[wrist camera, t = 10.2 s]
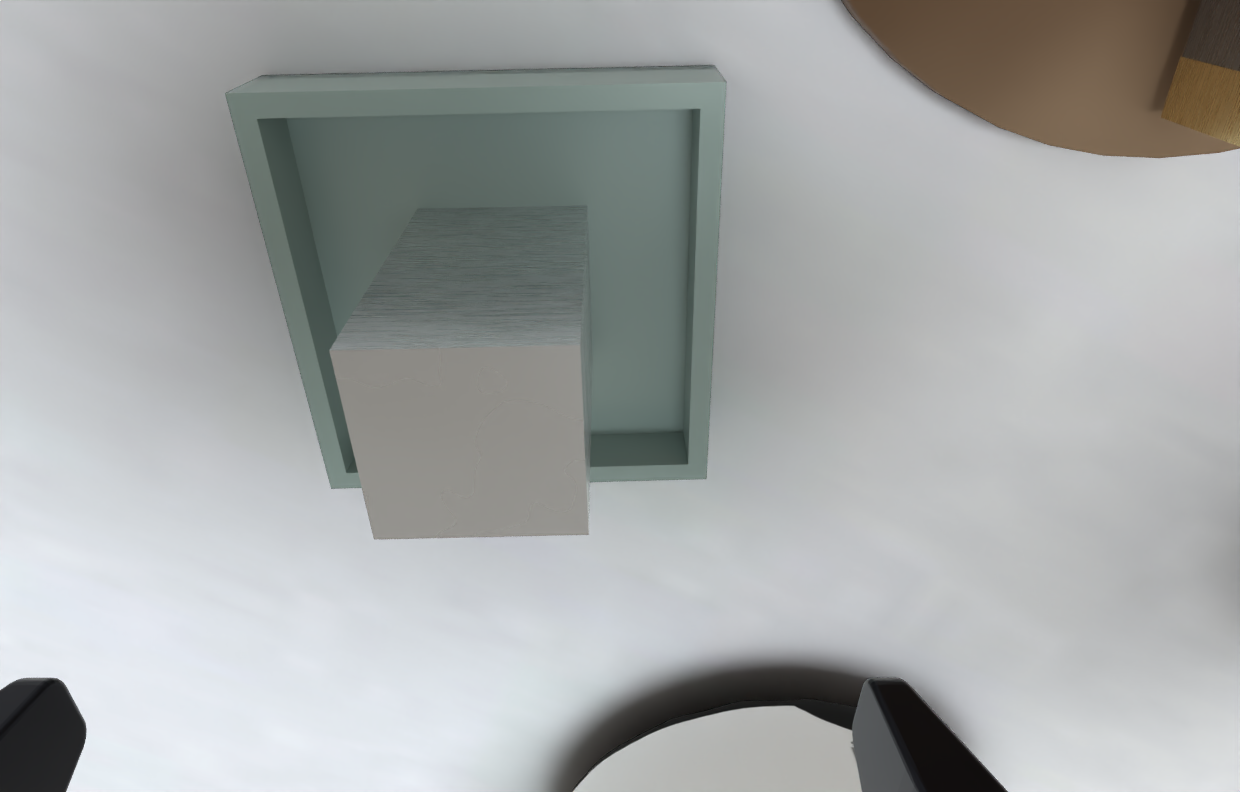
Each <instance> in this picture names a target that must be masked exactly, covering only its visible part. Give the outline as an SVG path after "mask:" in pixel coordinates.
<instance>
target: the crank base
mask: <svg viewBox="0 0 1240 792" xmlns="http://www.w3.org/2000/svg"><path fill="white" fill-rule="evenodd" d="M841 1H842V2H843V4H844V5H845V6H846V8H847V9H848V11H849V12H850V14H851V15H852V17H853V18H854V19H855V20H856V21H857V22H858V23H859V24H860V25H861V26H862V27H863V28H864V30H865V31H866V32H867V33H868V34H869V35H870V36H871V37H872V38H873V39H874V40H875V41H876V42H877V44H878V45H879V46H880V47H881V48H882V49H883V50H884V51H885V52H886V53H887V54H888V55H889V57H890V58H892V59H893V60H894V61H895V62H897V63H898V64H899V65H900V66H902V67H903V68H904V69H906V70H907V71H908V72H909V73H911V74H912V75H913V76H914V77H916V78H917V79H918V80H920V81H921V82H922V83H923V84H925V85H926V86H927V87H928V88H930V89H931V90H932V91H934V92H935V93H937V94H939V95H941V96H943V97H944V98H946V99H948V100H950V101H952V102H954V103H955V104H957V105H959V106H961V107H963V108H964V109H966V110H968V111H970V112H972V113H973V114H975V115H977V116H979V117H981V118H983V119H984V120H986V121H988V122H990V123H992V124H994V125H995V126H997V127H999V128H1002V129H1005V130H1008V131H1011V132H1013V133H1016V134H1019V135H1022V136H1025V137H1028V138H1030V139H1033V140H1036V141H1039V142H1042V143H1044V144H1047V145H1051V146H1056V147H1061V148H1066V149H1072V150H1077V151H1082V152H1087V153H1093V154H1098V155H1104V156H1127V157H1149V158H1165V157H1176V156H1188V155H1199V154H1210V153H1220V152H1225V151H1230V150H1234V149H1239V148H1240V147H1239V146H1236V145H1234V144H1231V143H1228V142H1225V141H1223V140H1220V139H1217V138H1215V137H1212V136H1209V135H1207V134H1204V133H1201V132H1199V131H1196V130H1193V129H1190V128H1188V127H1185V126H1182V125H1180V124H1177V123H1174V122H1172V121H1169V120H1166V119H1164V118H1161V114H1162V111H1163V108H1164V105H1165V102H1166V99H1167V96H1168V93H1169V90H1170V87H1171V84H1172V81H1173V78H1174V75H1175V72H1176V69H1177V66H1178V63H1179V60H1180V57H1182V56H1183V53H1184V50H1185V47H1186V44H1187V41H1188V38H1189V35H1190V32H1191V29H1192V26H1193V23H1194V20H1195V17H1196V14H1197V11H1198V8H1199V5H1200V2H1201V0H841Z"/></svg>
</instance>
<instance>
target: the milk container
mask: <svg viewBox="0 0 1240 792" xmlns="http://www.w3.org/2000/svg"><path fill="white" fill-rule="evenodd" d="M856 709H857V708H856V707H852V706H847V705H843V704H836V703H830V702H823V701H819V700H815V699H809V700H789V701H739V702H736V703H732V704H728V705H724V706H721V707H717V708H714V709H710V710H707V711H703V712H699V713H693V714H688V715H684V716H680V717H676V718H672V719H670V720H668V721H667V722H665V723H663V724H661V725H659V726H656V727H654V728H652V729H650V730H648V731H646V732H644V733H642V734H640V735H638V736H637V737H635V738H633V739H631V740H629V741H627V742H626V743H624V744H622V745H620V746H618V747H617V748H615V749H614V750H612V751H611V752H609V753H608V754H606V755H605V756H604V757H602V758H601V759H600V760H599V761H598V762H597V763H596V764H595V765H594V766H593V767H592V768H591V769H590V770H589V771H588V773H587V774H586V775H585V776H584V777H583V778H582V779H581V780H580V782H579V783H578V784H577V785H576V786H575V788H574V789H573V791H572V792H862V789H861V784H860V778H859V773H858V767H857V762H856V756H855V751H854V745H853V737H852V726H853V720H854V716H855V713H856Z"/></svg>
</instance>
